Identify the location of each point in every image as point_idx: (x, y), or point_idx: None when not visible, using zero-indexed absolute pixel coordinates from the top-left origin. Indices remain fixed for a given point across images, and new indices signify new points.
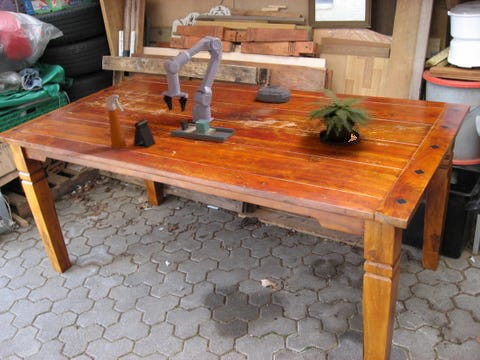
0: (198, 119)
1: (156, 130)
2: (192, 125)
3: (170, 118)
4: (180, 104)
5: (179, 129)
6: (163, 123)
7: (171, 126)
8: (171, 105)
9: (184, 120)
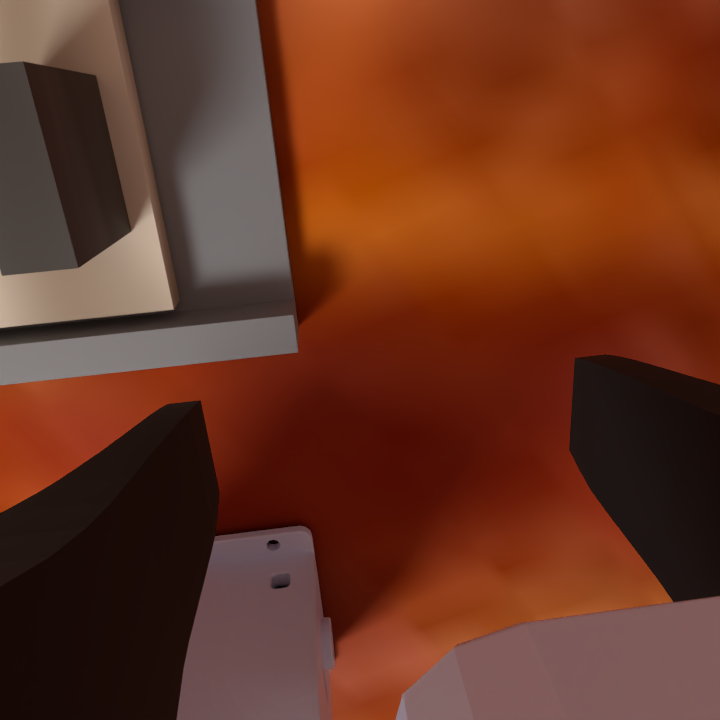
0: (211, 578)
1: (648, 27)
2: (72, 336)
3: None
4: (103, 499)
5: (242, 170)
6: (684, 334)
7: (499, 282)
8: (627, 503)
9: (15, 189)
